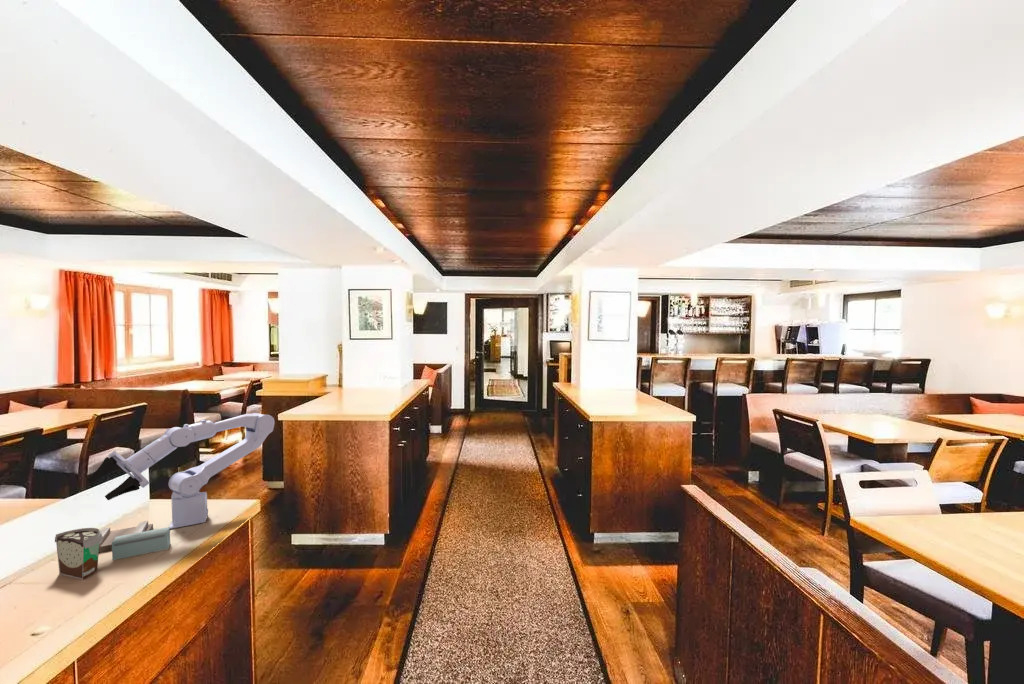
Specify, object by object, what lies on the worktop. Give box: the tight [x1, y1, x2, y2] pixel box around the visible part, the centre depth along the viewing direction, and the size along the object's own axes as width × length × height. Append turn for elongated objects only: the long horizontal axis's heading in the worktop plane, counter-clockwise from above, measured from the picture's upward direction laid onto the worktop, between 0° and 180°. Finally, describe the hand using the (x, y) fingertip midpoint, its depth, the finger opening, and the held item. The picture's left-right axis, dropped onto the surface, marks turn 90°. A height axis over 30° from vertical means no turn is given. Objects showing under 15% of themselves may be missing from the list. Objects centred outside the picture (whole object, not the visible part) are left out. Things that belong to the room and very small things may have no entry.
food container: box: [54, 527, 103, 580], centre depth 116 cm, size 12×6×10 cm, turn 71°
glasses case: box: [111, 526, 171, 561], centre depth 126 cm, size 12×4×5 cm, turn 119°
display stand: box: [99, 520, 154, 553], centre depth 133 cm, size 13×12×3 cm
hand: (97, 490), depth 129 cm, fingers open, 7 cm apart
